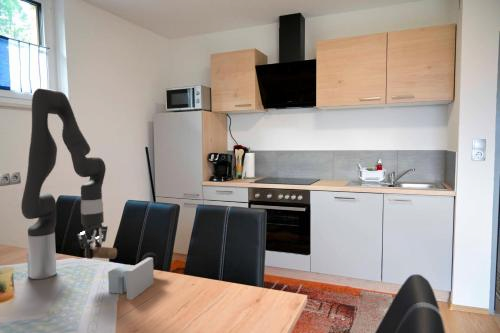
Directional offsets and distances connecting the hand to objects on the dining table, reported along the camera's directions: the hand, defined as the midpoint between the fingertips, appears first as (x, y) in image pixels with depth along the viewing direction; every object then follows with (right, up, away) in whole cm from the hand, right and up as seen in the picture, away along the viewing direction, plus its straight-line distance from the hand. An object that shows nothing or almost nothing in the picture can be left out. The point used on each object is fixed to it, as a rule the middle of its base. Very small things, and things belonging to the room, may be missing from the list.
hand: (94, 256), depth 126 cm
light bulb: (+18, -11, +8) cm, 23 cm away
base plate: (+18, -11, -4) cm, 22 cm away
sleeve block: (+11, -11, -2) cm, 16 cm away
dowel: (+3, 0, -1) cm, 3 cm away
